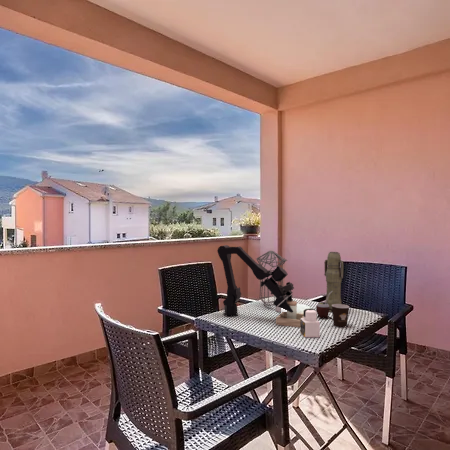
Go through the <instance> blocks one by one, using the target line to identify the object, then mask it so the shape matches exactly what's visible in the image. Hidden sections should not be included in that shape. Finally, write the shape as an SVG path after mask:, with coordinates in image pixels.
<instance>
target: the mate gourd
mask: <svg viewBox="0 0 450 450" xmlns="http://www.w3.org/2000/svg"><path fill="white" fill-rule="evenodd" d="M332 292H333V291H331V292H330V293H329V294H328V297H329V295H330V294H331V293H332ZM326 297H327V296H326ZM328 297H327V300H328ZM327 300H326V299H325V302H323V301H321V302H317V304H316V307H315V310H316V311H317V318H319V320H322V319H326V320H328V319H329V317H328V316H329V313H330V312H329V310H327V309H329V305H328V304H327ZM326 310H327V312H326V314H327V315H328V316H327V315H326V314H325V311H326Z"/></svg>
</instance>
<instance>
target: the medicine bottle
mask: <svg viewBox="0 0 450 450" xmlns="http://www.w3.org/2000/svg"><path fill="white" fill-rule="evenodd" d="M302 314H303V318H301V319H300V327H299V328H300V329H299V331H300V334H301V335H302V336H303V337H304V338H320V334H321V333H320V331H321V330H320V329H321V327H320V326H321V324H320V321H319V320H318V319H317V318H318V317H317V316H318V314H317V311H316V309H314V308H305V309H304V310H303V313H302Z"/></svg>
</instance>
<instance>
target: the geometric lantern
mask: <svg viewBox="0 0 450 450" xmlns="http://www.w3.org/2000/svg"><path fill="white" fill-rule="evenodd" d="M277 259H278V260H277ZM268 260H269V261H268ZM256 261H257V262H258V264H259V265H261V266H263V267H264V268H265V267H266V264H268V265H269V266H270V267H271V268H270V269H269V270H268V269H267V270H268V271H272V272H273V271H274V270H275V269H276V267H277V266H280V267H281V268H283V267H284V264H285V263H286V262H287V261H288V260H287V259H286V258H285V257H283V256H281V255H280V254H278V253H276V252H275V251H274V250H268V251H267V252H265V253H263V254H262V255H260V256H258V257H257V258H256ZM273 263H276V264H275V265H273ZM263 264H264V265H263ZM283 269H284V268H283ZM267 278H269V277H266V279H267ZM261 281H264V279H263V280H259V282H260V284H259V300H260V301H261V302H262V304H263V307H265V308H266V309H272V307H271V306H275V305H274V301H275V300H276V297H275V296H274V295H273V296H270V293H269V291H267V296H266V288H267V287H266V286H265V285H264V286H262V287H261ZM277 283H278V284H279V283H280V284H279V285H282V286H284V279H283V280H282V281H281V282H279V281H278V282H277ZM263 287H264V288H263ZM262 289H263V290H264V291H262ZM267 290H269V289H268V288H267ZM270 298H273V300H272V301H270ZM266 299H267V301H265V300H266ZM270 303H271V304H270Z"/></svg>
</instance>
